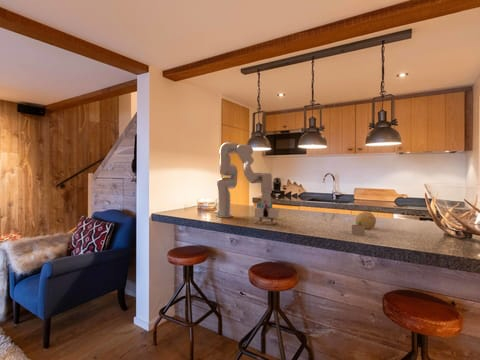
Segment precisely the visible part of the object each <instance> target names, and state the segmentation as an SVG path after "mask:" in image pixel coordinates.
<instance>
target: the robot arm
mask: <svg viewBox="0 0 480 360" xmlns="http://www.w3.org/2000/svg"><path fill="white" fill-rule="evenodd" d="M253 153H254V149H253V147H252V146H251V145H249V144H243V143H238V142H236V143H235V142H224V143H222V145H221V146H220V148H219V157H220V158H219V174H220V175H221V176H224V177H220V178H218V180H217V181H216V185H217V192H218V210H214V211H213V212H214V214H216V217H217V218H222V219H223V218H231V217H233V214H232V213H231V192H230V190H231V189H235V188H236V187H237V184H238V172H239V170H238V167H237V165H235V164H232V163H231V162H232V159H231V155H230V154H235V155H237V156H238V158H239V159H240V161H241V163H242V166H243V167H242V168H243V169H242V170H243V174H244V177H245V178H246V181H247V182H249V183H250V184H260V193H261V201H260V202H261V206H262V207H263V206H264V207H263V217H268V208H269V206H270V203H272V202H271V193H273V192H272V190H273V187H272V186H273V180H272V179H273V176H272V173H271V172H270V173H269V172H263V173H262V172H254V170H253V169H252V166H251V165H253V163H254V161H255V159H254V158H253V156H252V155H253Z"/></svg>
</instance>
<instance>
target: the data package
mask: <svg viewBox="0 0 480 360" xmlns="http://www.w3.org/2000/svg"><path fill="white" fill-rule="evenodd" d="M261 202H262V201H258V202H256V208H263V207H264V206H263V207H262V206H261ZM269 208H273V203H272V202H271V203H270V206H269ZM262 219H268V218H267V217H262Z"/></svg>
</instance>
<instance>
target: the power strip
mask: <svg viewBox="0 0 480 360" xmlns="http://www.w3.org/2000/svg"><path fill="white" fill-rule="evenodd" d="M260 217H263V208H257V207H255V208H254V218H260ZM271 218H273V219H278V218H279V208H276V207H275V208H274V207H272V208H268V217H267V218H266V219H271Z"/></svg>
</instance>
